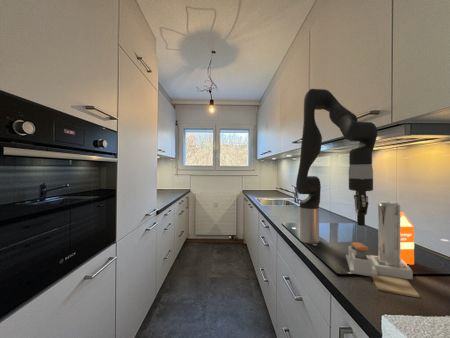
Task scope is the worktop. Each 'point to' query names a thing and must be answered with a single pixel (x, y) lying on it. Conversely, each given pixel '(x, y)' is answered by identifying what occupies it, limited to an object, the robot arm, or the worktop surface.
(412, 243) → the orange juice
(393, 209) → the silver metal cylinder
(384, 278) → the mat
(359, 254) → the plunger
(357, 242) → the plunger
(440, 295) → the worktop surface
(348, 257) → the housing
